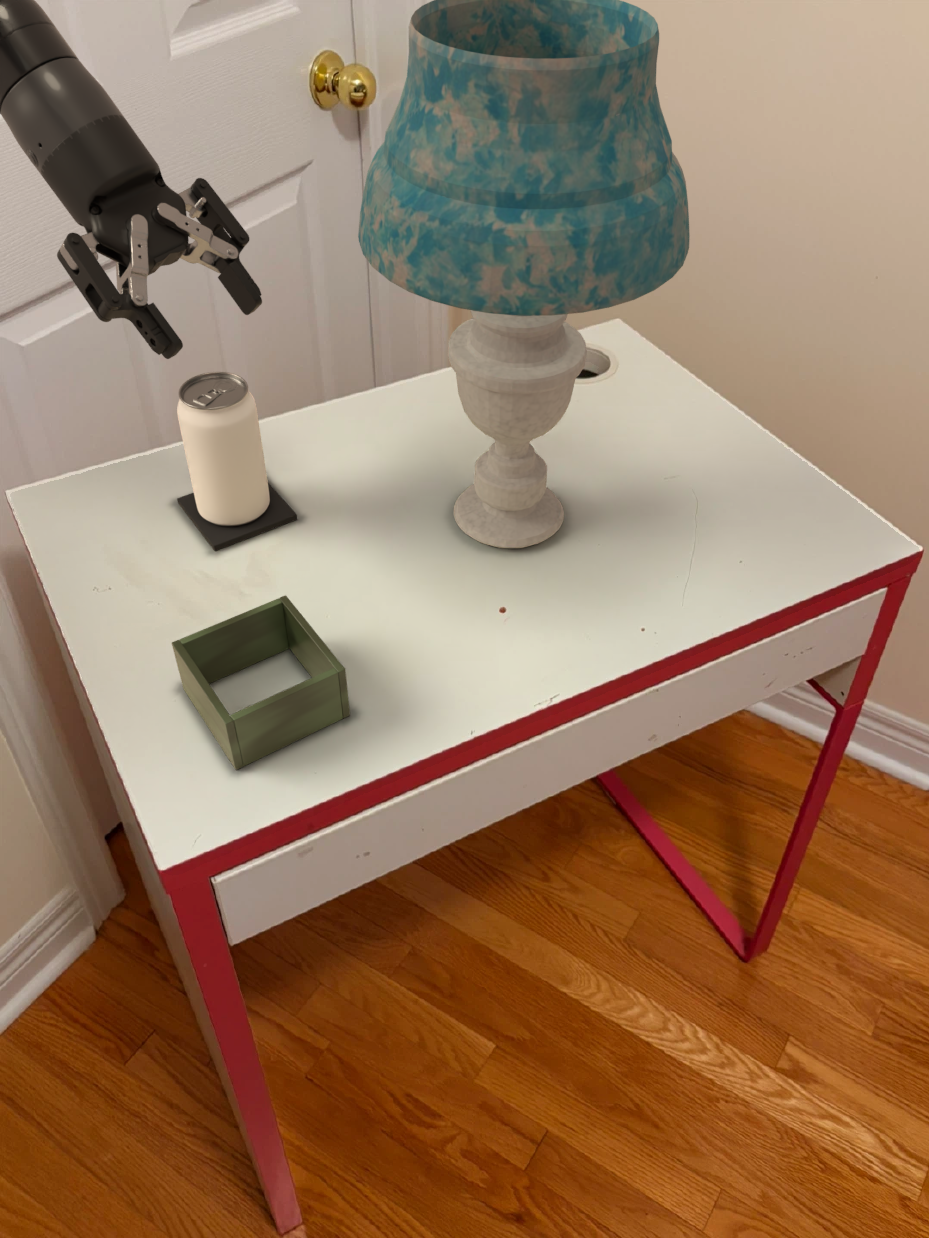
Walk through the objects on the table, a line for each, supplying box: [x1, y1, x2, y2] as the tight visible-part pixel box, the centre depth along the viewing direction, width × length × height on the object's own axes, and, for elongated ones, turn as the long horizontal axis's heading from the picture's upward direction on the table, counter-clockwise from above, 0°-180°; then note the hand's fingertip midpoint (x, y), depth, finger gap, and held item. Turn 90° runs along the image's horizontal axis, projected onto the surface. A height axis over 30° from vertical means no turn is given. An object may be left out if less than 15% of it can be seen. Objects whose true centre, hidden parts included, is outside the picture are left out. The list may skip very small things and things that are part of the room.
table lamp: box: [357, 0, 691, 549], centre depth 80 cm, size 24×24×40 cm
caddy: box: [171, 594, 351, 771], centre depth 76 cm, size 9×9×5 cm
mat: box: [176, 482, 298, 552], centre depth 94 cm, size 8×8×1 cm
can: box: [176, 371, 270, 526], centre depth 90 cm, size 6×6×12 cm
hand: (216, 330), depth 81 cm, fingers open, 8 cm apart
